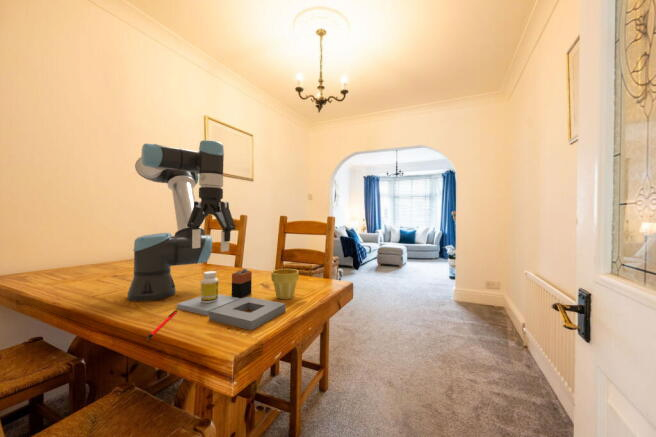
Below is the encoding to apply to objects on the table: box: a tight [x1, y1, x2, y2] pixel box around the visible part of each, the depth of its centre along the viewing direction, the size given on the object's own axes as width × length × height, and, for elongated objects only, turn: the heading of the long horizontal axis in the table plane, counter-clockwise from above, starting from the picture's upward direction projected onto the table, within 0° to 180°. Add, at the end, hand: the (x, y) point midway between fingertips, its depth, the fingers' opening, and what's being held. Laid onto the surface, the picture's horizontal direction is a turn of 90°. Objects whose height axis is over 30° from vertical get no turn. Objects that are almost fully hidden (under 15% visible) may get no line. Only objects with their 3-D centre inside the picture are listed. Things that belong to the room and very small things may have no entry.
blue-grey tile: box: [176, 293, 240, 317], centre depth 90 cm, size 14×14×2 cm
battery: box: [231, 268, 253, 299], centre depth 101 cm, size 4×7×10 cm, turn 159°
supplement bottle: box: [200, 270, 219, 303], centre depth 90 cm, size 5×5×10 cm
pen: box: [146, 310, 178, 340], centre depth 74 cm, size 1×19×1 cm, turn 10°
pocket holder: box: [208, 296, 286, 331], centre depth 81 cm, size 16×16×2 cm
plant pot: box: [270, 268, 300, 300], centre depth 101 cm, size 10×10×10 cm
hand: (210, 249), depth 90 cm, fingers open, 13 cm apart
